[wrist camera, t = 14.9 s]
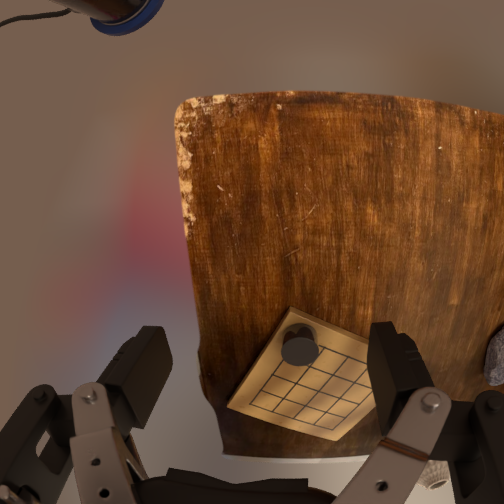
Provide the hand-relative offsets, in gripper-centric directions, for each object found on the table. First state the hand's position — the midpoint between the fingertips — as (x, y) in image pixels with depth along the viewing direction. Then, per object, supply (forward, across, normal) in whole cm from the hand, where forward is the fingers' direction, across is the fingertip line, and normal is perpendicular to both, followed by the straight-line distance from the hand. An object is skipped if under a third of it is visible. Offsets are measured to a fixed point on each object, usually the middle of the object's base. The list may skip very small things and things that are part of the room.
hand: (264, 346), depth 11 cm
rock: (+26, -38, +26) cm, 53 cm away
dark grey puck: (+24, -1, +18) cm, 30 cm away
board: (+26, -4, +29) cm, 39 cm away
